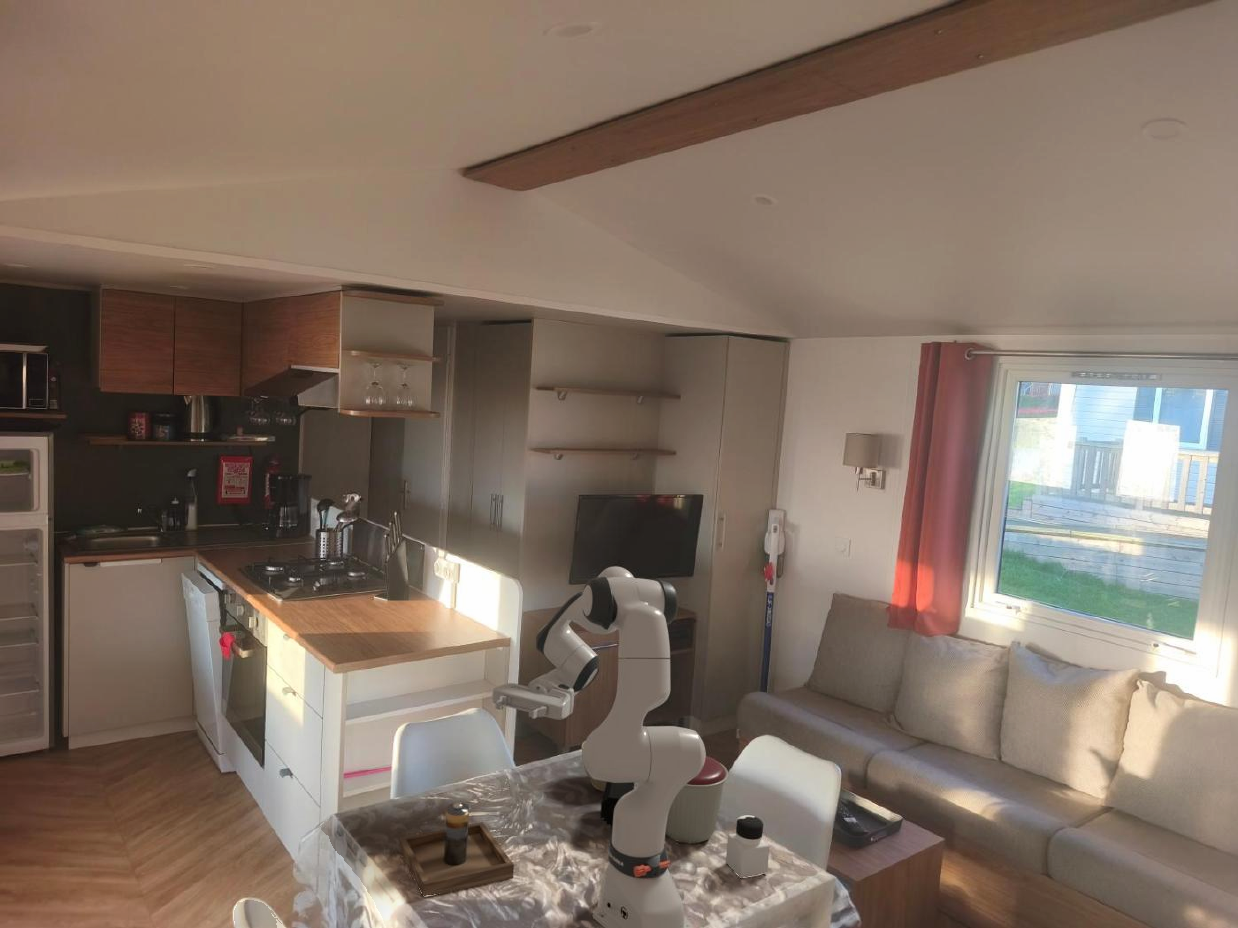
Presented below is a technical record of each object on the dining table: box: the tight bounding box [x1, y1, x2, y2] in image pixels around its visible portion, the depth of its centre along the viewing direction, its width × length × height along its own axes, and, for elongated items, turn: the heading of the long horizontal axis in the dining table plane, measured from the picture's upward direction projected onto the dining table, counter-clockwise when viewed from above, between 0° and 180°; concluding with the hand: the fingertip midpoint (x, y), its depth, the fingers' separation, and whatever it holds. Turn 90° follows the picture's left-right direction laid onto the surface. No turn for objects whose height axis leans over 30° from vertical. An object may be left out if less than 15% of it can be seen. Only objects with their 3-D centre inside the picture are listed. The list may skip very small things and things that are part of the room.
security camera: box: [599, 782, 635, 827], centre depth 216 cm, size 7×18×10 cm, turn 174°
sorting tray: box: [398, 821, 515, 896], centre depth 192 cm, size 20×20×3 cm
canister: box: [665, 755, 729, 844], centre depth 212 cm, size 18×18×21 cm
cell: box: [444, 801, 470, 866], centre depth 192 cm, size 5×5×13 cm
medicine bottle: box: [725, 814, 770, 878], centre depth 198 cm, size 7×7×12 cm
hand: (514, 710), depth 206 cm, fingers open, 8 cm apart
